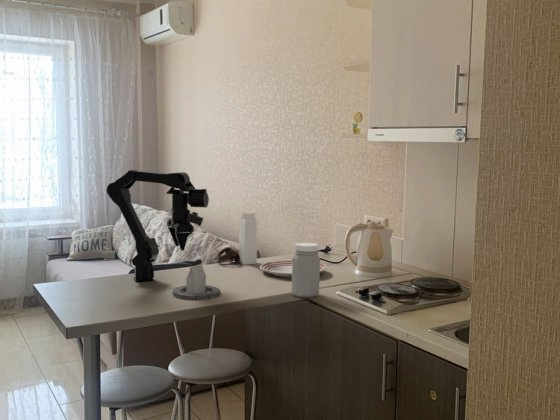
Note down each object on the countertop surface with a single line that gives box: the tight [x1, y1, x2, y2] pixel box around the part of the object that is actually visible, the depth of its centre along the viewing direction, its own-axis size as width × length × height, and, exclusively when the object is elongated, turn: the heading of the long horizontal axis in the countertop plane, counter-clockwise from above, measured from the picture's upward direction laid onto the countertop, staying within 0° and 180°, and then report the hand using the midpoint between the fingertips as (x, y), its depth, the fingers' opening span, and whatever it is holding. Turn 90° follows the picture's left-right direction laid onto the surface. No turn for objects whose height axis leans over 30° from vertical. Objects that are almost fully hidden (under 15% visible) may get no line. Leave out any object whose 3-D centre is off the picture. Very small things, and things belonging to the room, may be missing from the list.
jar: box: [291, 241, 321, 299], centre depth 210 cm, size 10×10×18 cm
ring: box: [172, 284, 221, 301], centre depth 208 cm, size 16×16×1 cm
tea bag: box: [185, 263, 207, 294], centre depth 208 cm, size 4×7×10 cm, turn 156°
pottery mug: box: [217, 246, 242, 265], centre depth 262 cm, size 12×10×8 cm
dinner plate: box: [259, 259, 328, 279], centre depth 246 cm, size 28×27×3 cm
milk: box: [238, 212, 258, 265], centre depth 262 cm, size 6×6×22 cm
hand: (179, 248), depth 223 cm, fingers open, 9 cm apart
